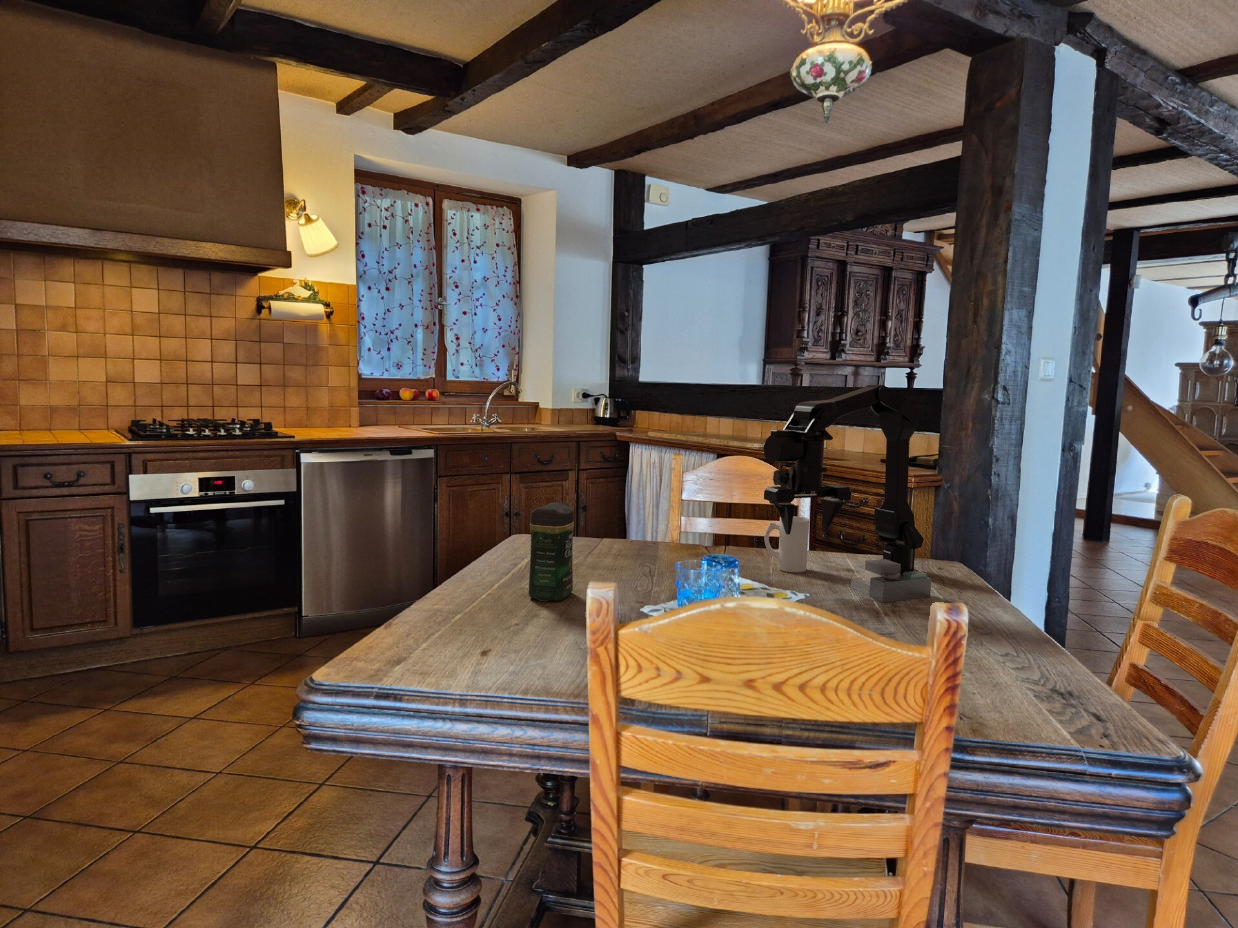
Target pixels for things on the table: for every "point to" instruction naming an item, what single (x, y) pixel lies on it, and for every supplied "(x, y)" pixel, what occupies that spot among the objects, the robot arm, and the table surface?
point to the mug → (790, 545)
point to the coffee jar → (551, 552)
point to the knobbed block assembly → (895, 586)
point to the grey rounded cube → (880, 568)
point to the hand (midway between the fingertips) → (806, 533)
